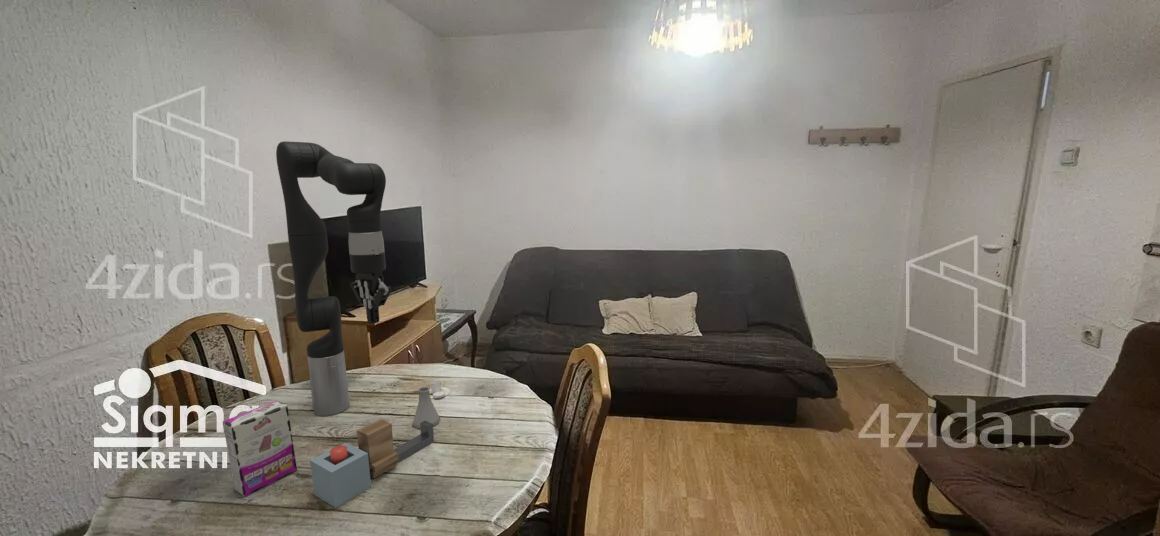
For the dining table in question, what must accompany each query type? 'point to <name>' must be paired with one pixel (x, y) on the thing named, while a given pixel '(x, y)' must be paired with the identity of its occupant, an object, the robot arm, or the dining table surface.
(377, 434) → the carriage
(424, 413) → the flask
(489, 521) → the dining table surface
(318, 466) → the button housing
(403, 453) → the rail
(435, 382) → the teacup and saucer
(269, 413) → the candy bar box
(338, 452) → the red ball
